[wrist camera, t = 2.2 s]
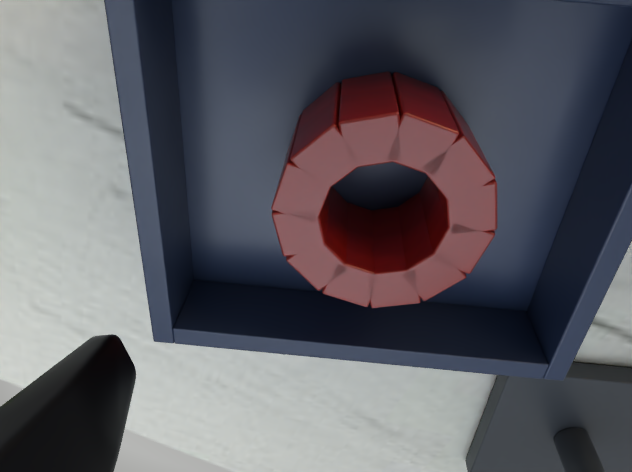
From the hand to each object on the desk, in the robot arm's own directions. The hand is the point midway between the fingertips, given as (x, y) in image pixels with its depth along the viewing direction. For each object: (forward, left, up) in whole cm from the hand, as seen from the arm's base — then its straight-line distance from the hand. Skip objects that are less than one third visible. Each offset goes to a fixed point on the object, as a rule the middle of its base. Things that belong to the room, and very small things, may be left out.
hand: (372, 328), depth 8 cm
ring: (-1, +2, -10) cm, 10 cm away
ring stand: (-12, +15, -11) cm, 22 cm away
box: (-1, +2, -11) cm, 11 cm away
